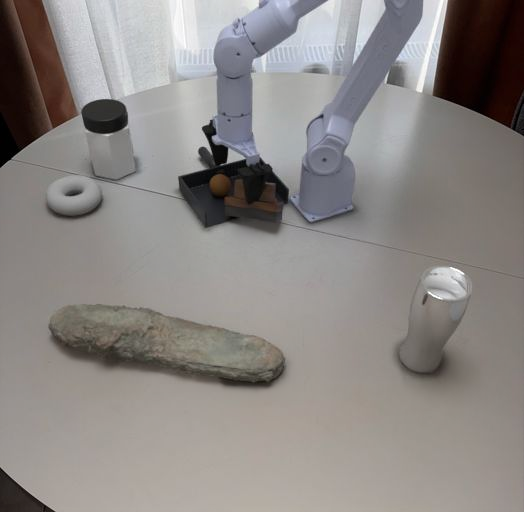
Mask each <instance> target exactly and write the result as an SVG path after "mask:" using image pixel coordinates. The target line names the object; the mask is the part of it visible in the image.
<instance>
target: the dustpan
mask: <svg viewBox="0 0 524 512" xmlns="http://www.w3.org/2000/svg"><path fill="white" fill-rule="evenodd" d="M197 153H198V155H199V157H200V158H201V159H202V161H203V162H204V163H205V165H206V166H207V167H208V168H205V169H201V170H197V171H194V172H190V173H186V174H182V175H178V176H177V180H178V189H179V190H178V191H179V192H180V194H181V195H182V197H183V198H184V199H185V202H187V204H188V205H189V207H190V208H191V209H192V211H193V212H194V214H195V215H196V216H197V218H198V219H199V221H200V222H201V224H202V225H203V226H204V228H205V229H207V228H210V227H214V226H217V225H220V224H223V223H227V222H230V221H233V220H238V219H241V218H240V217H233V216H226V215H225V197H228V196H232V195H234V186H235V180H239V179H241V176H240V174H239V173H238V169H240V168H244V167H249V166H248V165H247V164H246V158H243V159H238V160H236V161H232V162H227V163H226V164H222V165H218V166H216V164H215V162H214V159H213V156H212V152H211V151H210V150H209V149H208V148H207V147H206V146H200V147H199V148H198V150H197ZM259 163H260V164H261V165H265V164H267V163H266V162H265V160H263V158H262V157H260V159H259ZM218 174H222V175H225V176H226V177H228V178H229V180H230V182H231V189H230V191H229V193H228V194H227V195H225V196H221V197H219V196H216V195H214V194H213V193H212V192H211V190H210V186H209V184H210V180H211V179H212V177H214V176H215V175H218ZM241 180H242V179H241ZM266 183H274V184H276V188H275V198H276V199H277V201H280V202H284V205H283V206H285V205H288V204H289V199H290V196H289V195H290V188H289V187H288V186H287V185H286V184H285V183H284V181H282V179H281V178H279V175H277V174H276V173H275V172H274V171H273V172H272V174H271V175H270V176H269V178H268V179H267V181H266Z"/></svg>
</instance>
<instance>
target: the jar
mask: <svg viewBox="0 0 524 512" xmlns="http://www.w3.org/2000/svg"><path fill="white" fill-rule="evenodd" d="M80 114H81V118H82V122H83V126H84V132H85V136H86V137H85V138H86V141H87V142H86V143H87V145H88V150H89V156H90V158H91V163H92V168H93V171H94V176H95V177H101V178H105V179H109V180H110V179H111V180H115V181H116V180H120V179H122V178H125V177H126V176H129V175H131V174H134V173H135V172H136V171H137V169H136V163H135V156H134V155H135V151H134V145H133V140H132V134H131V131H130V126H129V113H128V109H127V106H126V105H125V104H124V103H123V102H121V101H119V100H117V99H113V98H100V99H95V100H91V101H89V102H87V103H86V104H85V105H83V106H82V107H81V112H80Z"/></svg>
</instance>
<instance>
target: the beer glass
mask: <svg viewBox="0 0 524 512" xmlns="http://www.w3.org/2000/svg"><path fill="white" fill-rule="evenodd" d="M473 285H474V284H473V282H472V279H470V277H469V276H468V275H467V273H465V272H464V271H462V270H460V269H458V268H456V267H453V266H451V265H450V266H449V265H444V264H443V265H440V264H439V265H433V266H430V267H428V268H426V269H424V271H423V272H422V273H421V275H420V278H419V280H418V283H417V285H416V287H415V290H414V292H413V296H412V298H411V303H410V306H409V311H408V325H407V326H408V327H407V335H406V338H405V340H404V342H403V343H402V344H401V346H400V348H399V349H398V357H399V360H400V362H401V364H403V366H404V367H406V368H407V369H409V370H410V371H412V372H415V373H419V374H427V373H429V374H430V373H432V372H434V371H436V370H437V369H438V368H439V366H440V365H441V362H442V357H443V350H444V347H445V346H446V344H447V343H448V341H449V340H450V338H451V337H452V336H453V334H454V333H455V332H456V331H457V329H458V327H459V326H460V324H461V322H462V320H463V318H464V315H465V314H466V311H467V308H468V305H469V302H470V298H471V294H472V292H473V290H474V289H473V288H474V286H473Z"/></svg>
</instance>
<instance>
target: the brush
mask: <svg viewBox="0 0 524 512" xmlns="http://www.w3.org/2000/svg"><path fill="white" fill-rule="evenodd" d="M275 188H276V184H274V183H265V185H264V187H263V190H262V193H261V196H260V198H259V200H258V201H254V202H253V204H247V202H246V199H245V192H244V185H243V182H242V180H241V179H239V180H235V186H234V195H232V196H228V197H225V215H226V216H233V217H240V218H239V219H247V220H255V221H261V222H268V223H279V222H282V221H283V211H284V206H285V205H284V202H280V201H275Z"/></svg>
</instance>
